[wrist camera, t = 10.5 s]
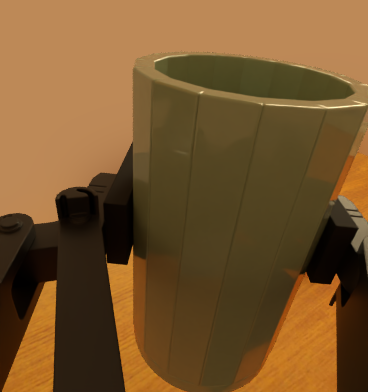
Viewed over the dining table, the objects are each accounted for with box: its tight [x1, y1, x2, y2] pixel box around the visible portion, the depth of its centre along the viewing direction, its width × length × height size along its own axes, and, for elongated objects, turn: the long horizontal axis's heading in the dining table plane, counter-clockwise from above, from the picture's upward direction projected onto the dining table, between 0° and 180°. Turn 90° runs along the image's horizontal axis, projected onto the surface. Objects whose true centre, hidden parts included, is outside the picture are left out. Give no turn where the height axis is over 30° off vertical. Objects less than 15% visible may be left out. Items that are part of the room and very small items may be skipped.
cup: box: [133, 52, 368, 392], centre depth 12 cm, size 7×7×12 cm
